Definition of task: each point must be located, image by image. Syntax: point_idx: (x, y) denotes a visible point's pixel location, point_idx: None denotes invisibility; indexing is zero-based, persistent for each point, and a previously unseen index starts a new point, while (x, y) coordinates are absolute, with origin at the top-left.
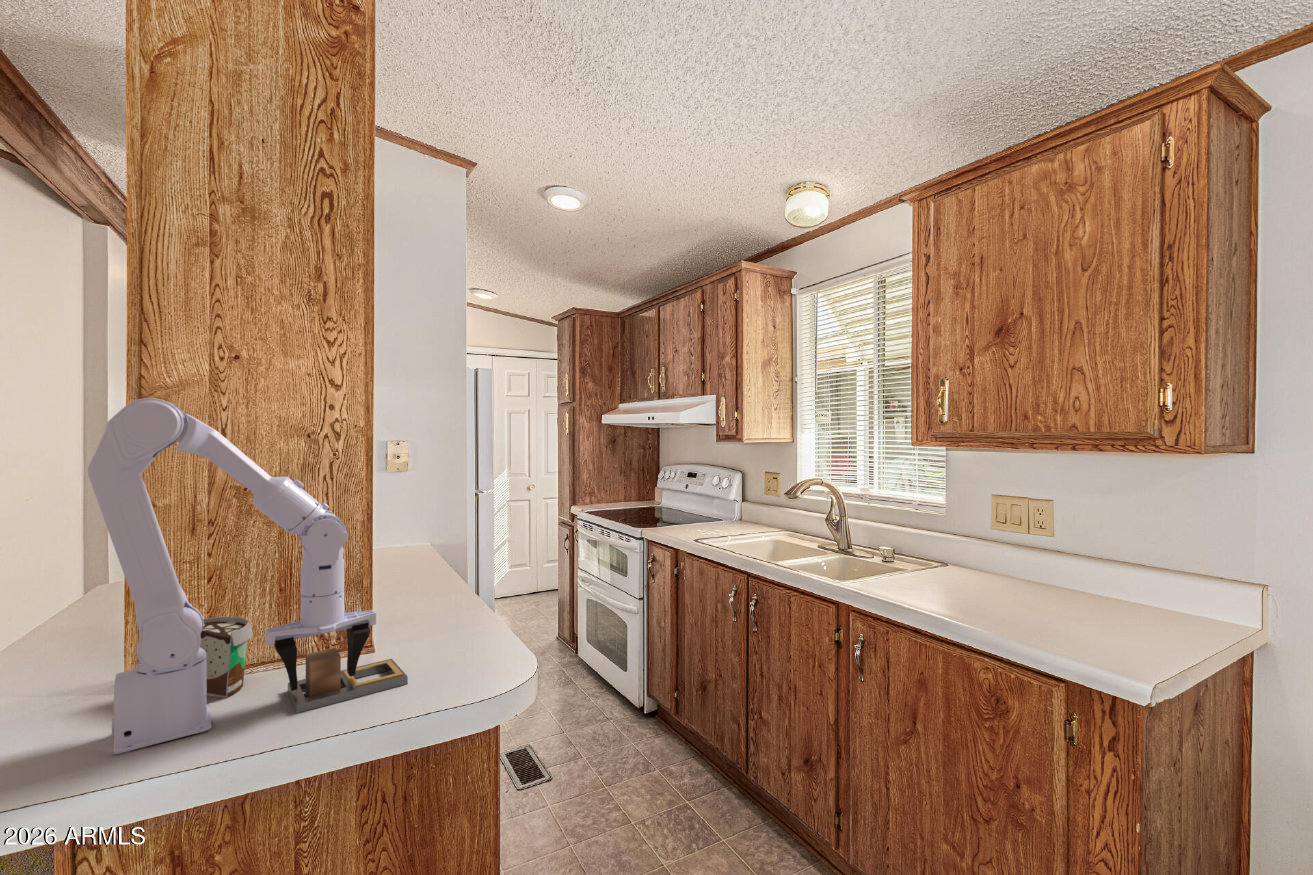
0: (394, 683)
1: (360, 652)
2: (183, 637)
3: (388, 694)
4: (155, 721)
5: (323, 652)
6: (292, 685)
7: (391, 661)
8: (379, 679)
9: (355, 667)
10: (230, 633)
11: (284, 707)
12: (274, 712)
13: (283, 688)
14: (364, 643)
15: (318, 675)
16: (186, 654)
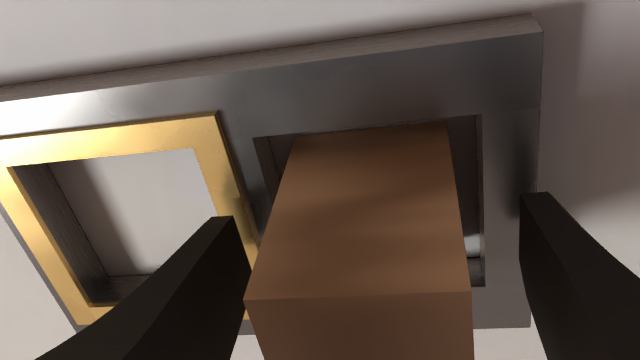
0: (14, 92)
1: (116, 305)
2: None
3: (38, 3)
4: None
5: None
6: (558, 206)
7: (68, 307)
8: (79, 132)
9: (188, 241)
10: None
11: (573, 130)
12: (634, 93)
13: (534, 326)
14: (49, 351)
15: (404, 212)
16: None
